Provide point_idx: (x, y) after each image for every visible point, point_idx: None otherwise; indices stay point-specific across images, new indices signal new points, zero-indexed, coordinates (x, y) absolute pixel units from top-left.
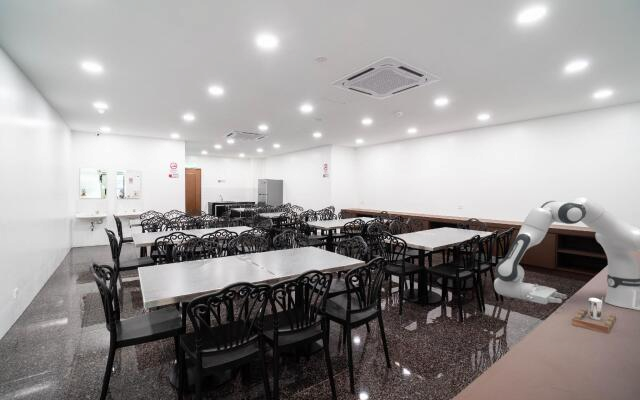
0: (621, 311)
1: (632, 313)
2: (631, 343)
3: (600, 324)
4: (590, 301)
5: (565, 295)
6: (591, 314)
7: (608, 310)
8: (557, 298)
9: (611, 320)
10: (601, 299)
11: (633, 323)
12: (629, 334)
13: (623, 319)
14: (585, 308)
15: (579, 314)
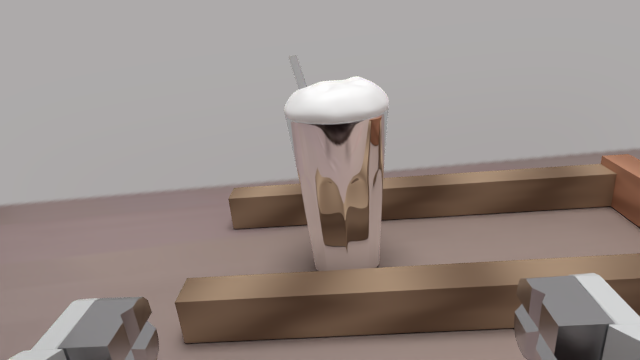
0: (17, 227)
1: (46, 204)
2: (633, 152)
3: (628, 170)
4: (379, 117)
5: (126, 297)
6: (371, 240)
7: (18, 259)
8: (589, 312)
9: (417, 177)
10: (298, 86)
11: (268, 182)
12: (497, 168)
13: (219, 204)
14: (194, 286)
15: (498, 274)
